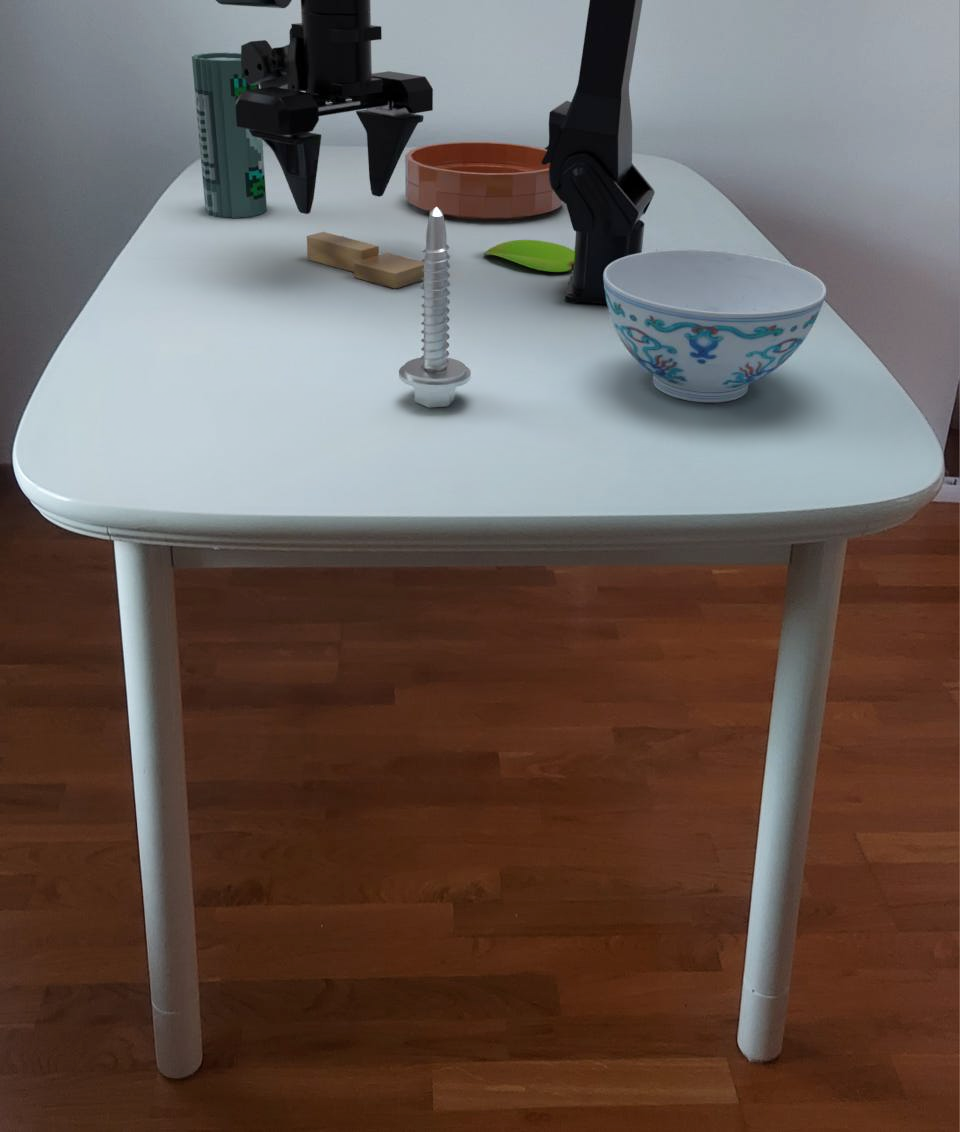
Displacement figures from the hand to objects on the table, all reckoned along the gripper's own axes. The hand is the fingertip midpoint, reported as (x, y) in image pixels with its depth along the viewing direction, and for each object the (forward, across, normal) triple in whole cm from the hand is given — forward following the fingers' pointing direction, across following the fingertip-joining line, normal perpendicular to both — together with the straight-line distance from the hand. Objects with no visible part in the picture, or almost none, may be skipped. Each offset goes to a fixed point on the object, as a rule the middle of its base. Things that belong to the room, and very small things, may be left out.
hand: (342, 204), depth 105 cm
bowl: (+6, -28, -6) cm, 29 cm away
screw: (+6, +19, +27) cm, 34 cm away
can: (+6, -7, -22) cm, 24 cm away
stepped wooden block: (+6, 0, +2) cm, 6 cm away
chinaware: (+6, +4, +39) cm, 40 cm away
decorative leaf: (+6, -13, +12) cm, 19 cm away
